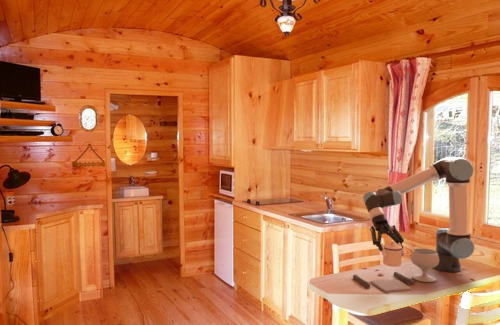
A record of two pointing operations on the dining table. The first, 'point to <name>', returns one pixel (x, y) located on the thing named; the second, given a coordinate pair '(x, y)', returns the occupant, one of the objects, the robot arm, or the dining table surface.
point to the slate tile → (390, 285)
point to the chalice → (424, 263)
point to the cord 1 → (361, 281)
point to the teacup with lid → (392, 254)
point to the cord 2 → (403, 278)
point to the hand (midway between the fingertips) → (394, 255)
